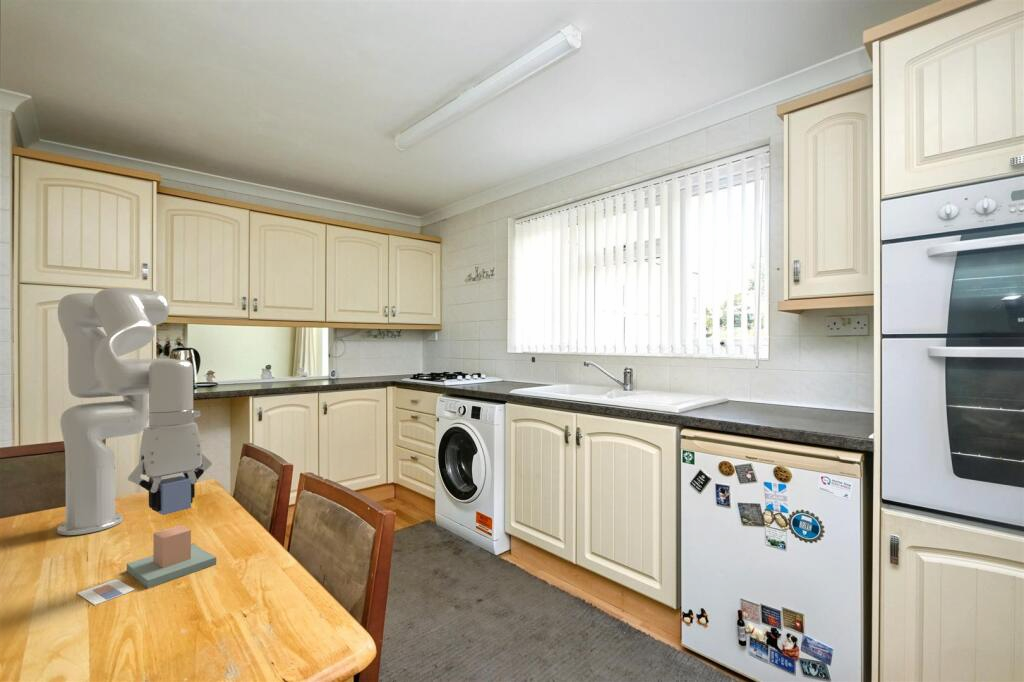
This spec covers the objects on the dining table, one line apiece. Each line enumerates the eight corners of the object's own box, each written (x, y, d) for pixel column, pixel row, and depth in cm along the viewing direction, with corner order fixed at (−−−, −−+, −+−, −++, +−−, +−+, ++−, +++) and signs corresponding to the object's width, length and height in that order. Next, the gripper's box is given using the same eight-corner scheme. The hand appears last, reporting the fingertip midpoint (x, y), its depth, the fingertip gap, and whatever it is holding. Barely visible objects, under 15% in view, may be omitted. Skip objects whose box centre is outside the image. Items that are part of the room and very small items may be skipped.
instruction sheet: (77, 593, 89) (77, 592, 89) (116, 579, 94) (116, 578, 94) (94, 605, 85) (94, 604, 85) (134, 590, 90) (134, 589, 90)
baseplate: (126, 570, 97) (126, 563, 97) (192, 549, 107) (192, 543, 107) (147, 588, 90) (147, 580, 90) (216, 564, 100) (216, 557, 100)
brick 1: (153, 510, 98) (153, 481, 98) (181, 503, 102) (181, 475, 102) (162, 515, 95) (162, 485, 95) (191, 507, 99) (190, 479, 99)
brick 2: (153, 561, 98) (153, 532, 98) (181, 552, 102) (181, 525, 102) (162, 568, 95) (162, 538, 95) (190, 558, 99) (190, 530, 99)
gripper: (208, 412, 108) (209, 492, 108) (114, 423, 94) (114, 514, 94) (223, 415, 104) (224, 498, 103) (127, 426, 90) (127, 522, 90)
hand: (172, 505), depth 99 cm, fingers closed on brick 1, 5 cm apart
